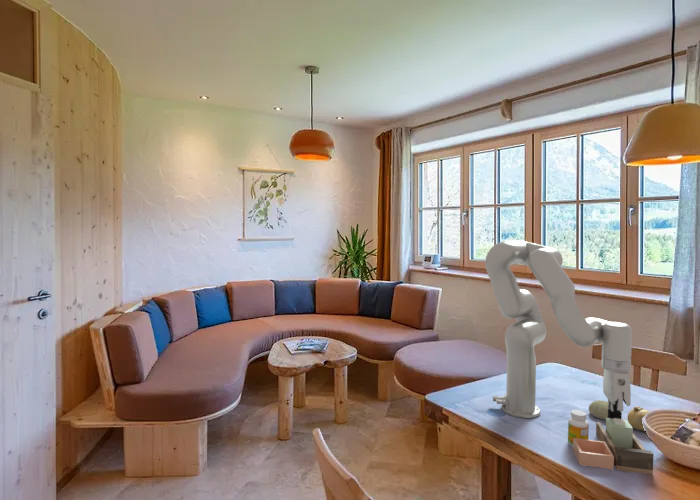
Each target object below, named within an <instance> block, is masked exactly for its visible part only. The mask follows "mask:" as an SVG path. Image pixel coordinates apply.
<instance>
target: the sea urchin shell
mask: <svg viewBox="0 0 700 500" xmlns="http://www.w3.org/2000/svg"><path fill="white" fill-rule="evenodd" d="M608 409H609V408H608V401H605V400H601V399H600V400H594V401H592V402H591V403H590V404H589V406H588V412H589V413H590V415H591V416H593V417H595V418H598V419H600V420H603V421H606V418H608Z"/></svg>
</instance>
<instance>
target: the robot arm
mask: <svg viewBox="0 0 700 500" xmlns="http://www.w3.org/2000/svg"><path fill="white" fill-rule="evenodd" d="M484 261H485V264H484V266H485V271H486V273H487V275H488V276H487V277H488V278H489V281H490V283H491V287H492V291H493V293H494V297H495V300H496V303H497V305H498V309H499V312H500V313H501V315H502V316H503V317H504V318H506V319H511V320H512V319H516V321H515V322H513V323H512V324H511V325H509V326H508V327H507V329H506V331H505V333H504V344H505V349H506V393H504V395H501V396H499V395H492V402H496V404H497V405H501V410H502V411H503V412H504V413H506V414H508V415H509V416H512V417H516V418H521V419H532V418H537V417H539V416H540V415H541V408H539V406H537V405H536V395H537V394H536V391H537V389H536V387H537V384H536V383H537V357H536V352H535V346H537V345H538V344H540V343H542V342H543V341H544V340H545V338H546V336H547V328H546V324H545V321H544V319H543V315H542V312H541V310H540V307H539V304H538V301H537V299H536V297H535V296H534V294H533V293H532V292H531V291H529V290H527V289H525V288H523V289H522V288H520V287H519V285H518V281H517V278H516V276H515V274H514V272H513V271H512V270H511V266H512V265H519V264H520V265H524V266H527V267H528V268H529V269H530V271H531V272H532V274H533V275H534V277H535V278H536V280H537V281H538V283H539V285H540V286H541V287H542V289H543V290H544V292H545V293H546V295H547V296H548V298H549V300H550V304H551V305H550V306H551V308H552V310H553V313H554V316H555V319H556V321H557V323H558V324H559V325H560V327H561V328H562V330H563V332H564V333H565V335H566V336H567V337H568V338H569V340H571V342H573V343H574V344H575V345H577V346H578V347H584V348H585V347H589V346H590V347H591V346H592V345H593V344H595V343H599V342H601V368H602V369H603V376H602V377H603V379H602V390H603V391H602V392H603V394H604V396H605V398H607V402H608V408H609V409H608V418H618V419H622V416H623V415H622V414H623V411H624V404H625V405H626V406H627V407H630V406H631V405H632V404H631V402H632V401H631V400H632V399H631V396H632V395H631V394H632V393H631V391H632V390H631V379H630V372H631V371H632V346H633V345H632V341H633V329H632V326H630V325H629V324H627V323H624V322H618V321H608V320H605V319H602V318H598V317H591V316H589V317H584V315H583V314H582V312H581V310H580V309H579V306H578V305H577V302H576V300H575V299H576V298H575V297H576V296H575V293H576V287H575V284H574V282H573V281H572V279H571V278H570V276H568V274H567V273H566V272H565V271H566V270H564V268H563V267H562V266H563V263H564V262H563V261H564V259H563V256H562V254H561V252H560V251H559V250H557V249H556V248H553V247H551V246H546V245H542V244H537V243H535V242H534V243H533V242H529V241H526V240H505V241H504V240H503V241H500V242H498V243H496V244H494V245H493V246H491V248H490V249H489V250H488V252H487V254H486V257H485V259H484Z"/></svg>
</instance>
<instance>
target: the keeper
mask: <svg viewBox="0 0 700 500" xmlns="http://www.w3.org/2000/svg"><path fill="white" fill-rule="evenodd" d="M605 431H606V433H607V434H608V436H609V437H610V439H611V441H612V442H613V444H614V445H615V447H623V448H631V449H632V444H633V434H634V428H633V427H632V426H631V425H630V424H629V422H628V419H623V418H621V419H618V418H606V420H605Z"/></svg>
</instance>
